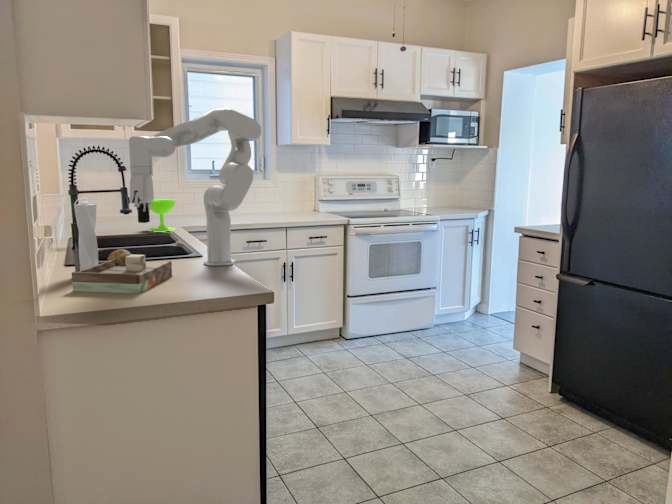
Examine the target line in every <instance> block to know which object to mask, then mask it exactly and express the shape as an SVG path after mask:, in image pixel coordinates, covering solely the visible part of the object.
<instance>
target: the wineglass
mask: <svg viewBox="0 0 672 504" xmlns="http://www.w3.org/2000/svg"><path fill="white" fill-rule="evenodd" d="M175 204H176V200H175V199H169V198H168V199H166V198H165V199H153V201H152V204H151V205H150V211H152V212H153V213H155V214H158V215H159V226H158V227H151V228H149V229H148V230H152V231H170V230H175V229H176V228H174V227H167V226H165V224H164V223H165V222H164V215H165V214H167V213H169V212H171V211H172V210H173V208H174V207H175Z"/></svg>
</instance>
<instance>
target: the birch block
mask: <svg viewBox="0 0 672 504" xmlns="http://www.w3.org/2000/svg"><path fill="white" fill-rule="evenodd" d="M125 263H126V266H125V267H126V271H142V270H144V269H146V267H147V264H146V263H147V261H146V254H132V255H129V256H126V257H125Z"/></svg>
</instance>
